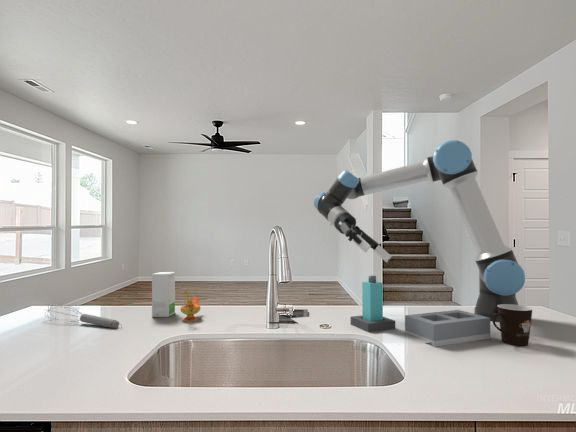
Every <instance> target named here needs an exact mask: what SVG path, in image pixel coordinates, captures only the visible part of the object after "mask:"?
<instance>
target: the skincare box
mask: <svg viewBox="0 0 576 432" xmlns="http://www.w3.org/2000/svg"><path fill="white" fill-rule="evenodd" d="M175 282H176V272H175V271H163V272H161V271H159V272H155V273H151V318H169V317H171V316H172V315H174V314H175V313H176V283H175Z"/></svg>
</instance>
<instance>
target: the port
mask: <svg viewBox="0 0 576 432" xmlns="http://www.w3.org/2000/svg"><path fill="white" fill-rule="evenodd" d="M404 328H405V329H404V332H405V334H410V335H411V336H414V337H416V338H419V339H422V340H424V341H427V342H425V344H426V345H429V346H431V347H433V348H434V347H440V346H449V345H453V344H454V345H456V344H462V343H469V342H470V343H471V342H476V341H484V340H489V339H491V320H490V318H488V317H484V316H481V315H477V314H474V312H473V313H472V312H468V311H466V310H465V311H464V310H461V309H454V310H453V309H452V310H444V311H442V310H441V311H435V312H424V313H414V314H405V315H404Z"/></svg>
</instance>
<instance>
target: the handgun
mask: <svg viewBox="0 0 576 432" xmlns="http://www.w3.org/2000/svg"><path fill="white" fill-rule="evenodd" d="M293 309H294V311H293V316H292V317H290V316H289V315H288V314H287V315H279V322H280V323H279V324H298V322H297V321H296V320H294V319H297V318H308V315H309V313H308V312H309V311H308V309H306V308H304V309H303V308H302V309H300V308H293Z"/></svg>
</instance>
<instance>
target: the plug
mask: <svg viewBox="0 0 576 432" xmlns="http://www.w3.org/2000/svg"><path fill="white" fill-rule="evenodd" d="M367 279H368V280H367V281H362V285H361V286H362V290H361V291H362V293H361V294H362V296H361V298H362V302H361V303H362V309H361V310H362V315H363V319H364V320H367V321H369V322H371V321H381V320H383V317H384V316H383V314H384V312H383V309H384V308H383V307H384V305H383V304H384V303H383V302H384V301H383V299H384V298H383V294H384V293H383V291H384V290H383V289H384V288H383V287H384V286H383V282H380V281H377V275H373V274H371V275H368V278H367Z"/></svg>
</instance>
